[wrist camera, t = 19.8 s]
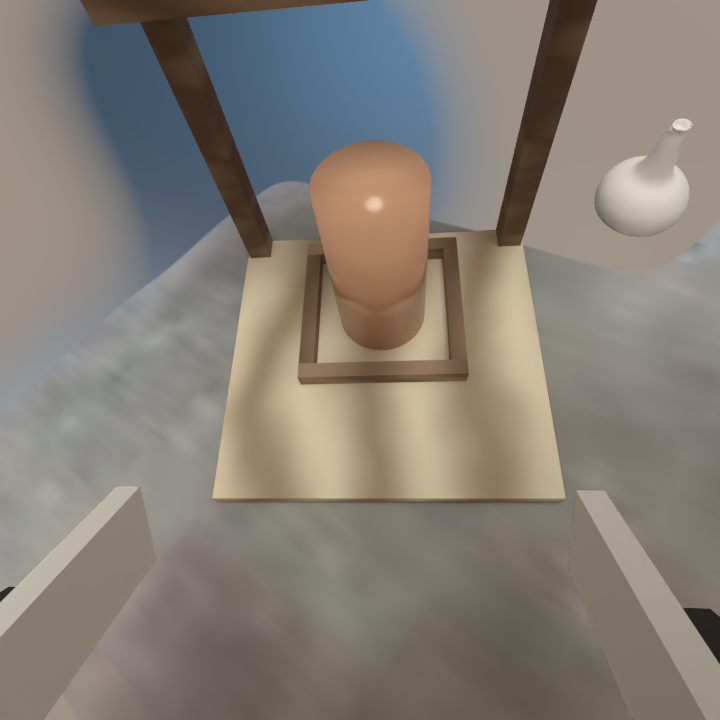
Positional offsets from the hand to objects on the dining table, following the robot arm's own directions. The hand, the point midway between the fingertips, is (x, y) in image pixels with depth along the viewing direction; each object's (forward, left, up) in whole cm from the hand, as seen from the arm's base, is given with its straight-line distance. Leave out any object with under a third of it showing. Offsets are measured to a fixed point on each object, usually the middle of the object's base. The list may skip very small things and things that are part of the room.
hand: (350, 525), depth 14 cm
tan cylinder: (0, -16, -14) cm, 21 cm away
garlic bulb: (-20, -26, -15) cm, 36 cm away
